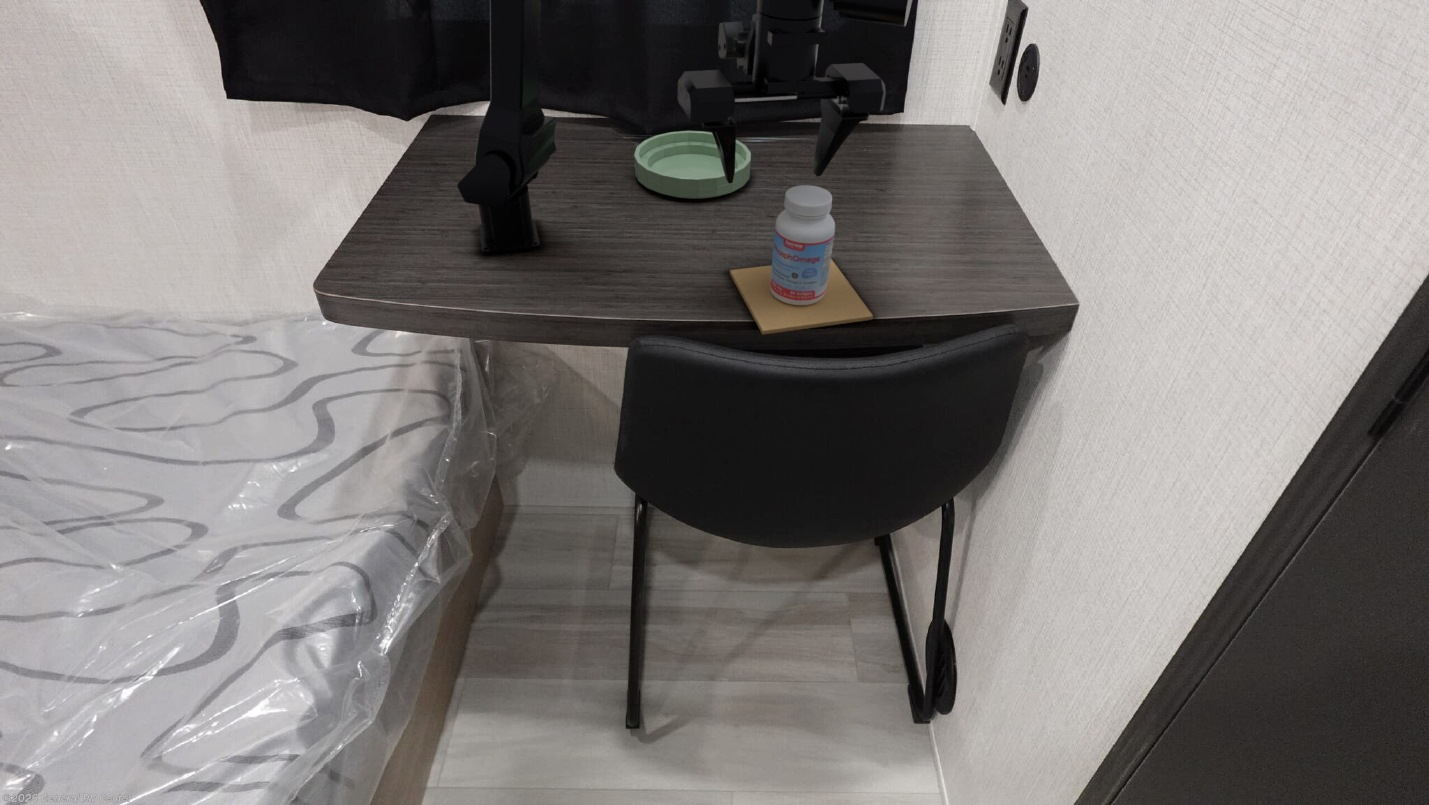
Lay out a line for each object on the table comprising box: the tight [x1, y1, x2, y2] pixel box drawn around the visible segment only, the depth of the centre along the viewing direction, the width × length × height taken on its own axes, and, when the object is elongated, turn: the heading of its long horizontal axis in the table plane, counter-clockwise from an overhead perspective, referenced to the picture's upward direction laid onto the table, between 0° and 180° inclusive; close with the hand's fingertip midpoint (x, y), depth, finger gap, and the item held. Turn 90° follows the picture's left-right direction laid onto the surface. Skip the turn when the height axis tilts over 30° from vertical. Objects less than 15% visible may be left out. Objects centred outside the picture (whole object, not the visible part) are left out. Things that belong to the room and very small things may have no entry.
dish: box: [633, 130, 752, 200], centre depth 111 cm, size 15×15×3 cm
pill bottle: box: [770, 184, 836, 305], centre depth 86 cm, size 6×6×11 cm
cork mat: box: [729, 258, 874, 335], centre depth 90 cm, size 12×12×1 cm
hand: (773, 177), depth 83 cm, fingers open, 9 cm apart
